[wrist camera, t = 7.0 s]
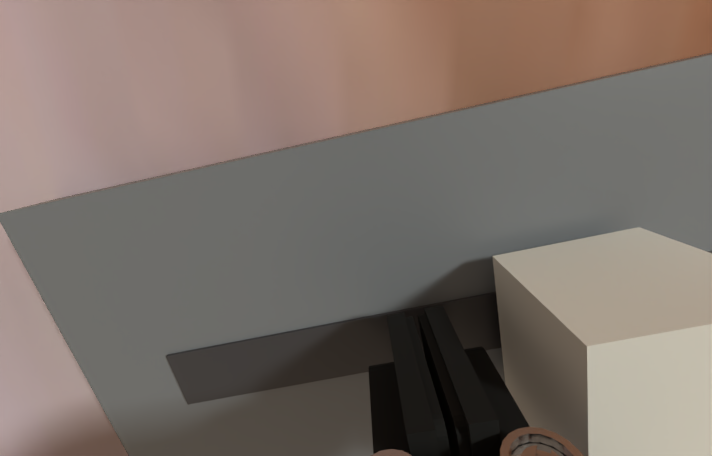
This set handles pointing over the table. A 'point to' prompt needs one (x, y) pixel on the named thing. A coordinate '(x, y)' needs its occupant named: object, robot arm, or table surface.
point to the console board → (348, 254)
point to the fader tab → (611, 342)
